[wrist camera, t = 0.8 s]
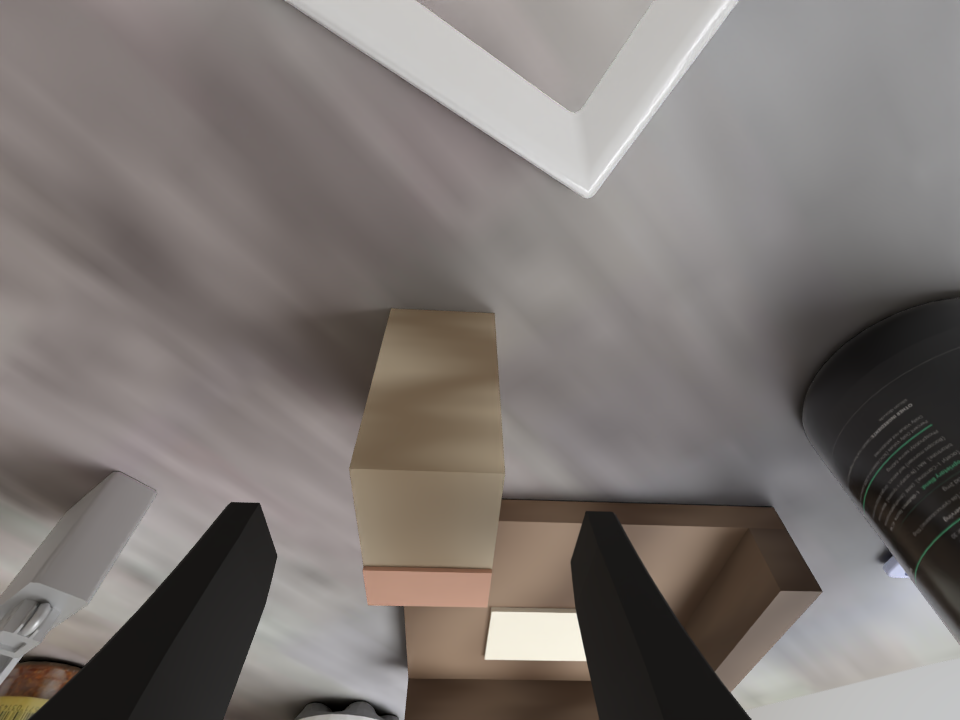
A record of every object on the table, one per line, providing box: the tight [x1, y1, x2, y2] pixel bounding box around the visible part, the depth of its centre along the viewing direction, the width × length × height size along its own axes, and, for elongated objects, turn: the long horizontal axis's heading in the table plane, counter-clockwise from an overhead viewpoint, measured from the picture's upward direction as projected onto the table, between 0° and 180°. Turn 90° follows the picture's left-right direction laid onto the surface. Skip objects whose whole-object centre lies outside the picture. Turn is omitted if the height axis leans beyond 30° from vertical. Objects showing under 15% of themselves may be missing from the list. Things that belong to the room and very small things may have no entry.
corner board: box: [404, 499, 823, 720], centre depth 23 cm, size 15×16×4 cm
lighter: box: [0, 472, 157, 685], centre depth 17 cm, size 7×2×8 cm, turn 129°
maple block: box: [349, 308, 505, 608], centre depth 13 cm, size 3×5×6 cm, turn 176°
